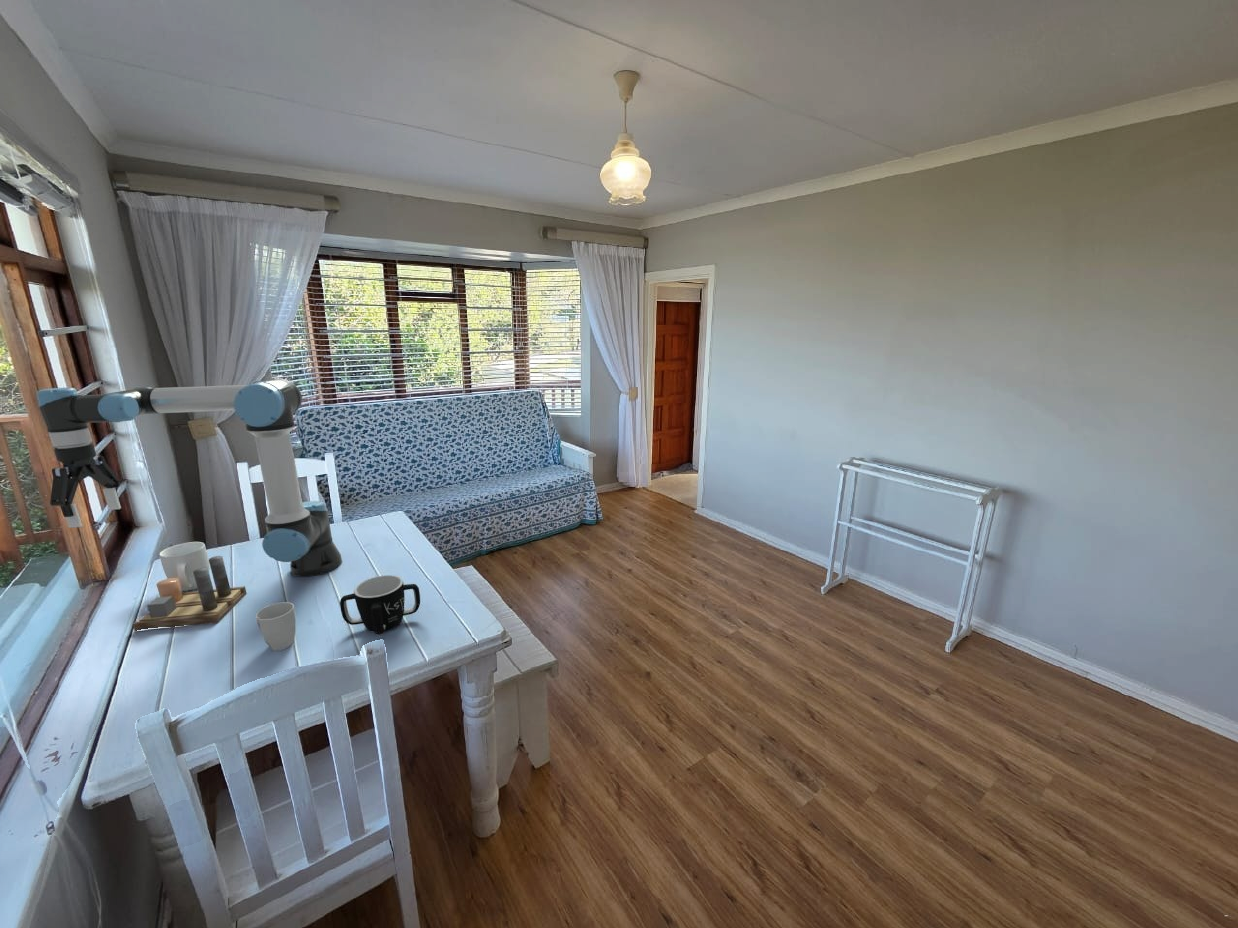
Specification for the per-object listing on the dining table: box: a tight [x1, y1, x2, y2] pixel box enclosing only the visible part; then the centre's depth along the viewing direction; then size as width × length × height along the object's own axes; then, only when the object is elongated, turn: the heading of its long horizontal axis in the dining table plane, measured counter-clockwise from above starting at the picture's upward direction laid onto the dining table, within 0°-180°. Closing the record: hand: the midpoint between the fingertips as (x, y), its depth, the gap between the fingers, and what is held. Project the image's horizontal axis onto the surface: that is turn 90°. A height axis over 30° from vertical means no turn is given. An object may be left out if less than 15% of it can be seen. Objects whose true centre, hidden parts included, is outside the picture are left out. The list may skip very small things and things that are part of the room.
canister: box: [156, 578, 183, 602], centre depth 146 cm, size 5×5×6 cm
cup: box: [255, 601, 297, 652], centre depth 128 cm, size 8×8×10 cm
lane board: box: [131, 585, 248, 632], centre depth 145 cm, size 20×16×2 cm
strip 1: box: [138, 567, 228, 622], centre depth 139 cm, size 19×5×13 cm, turn 102°
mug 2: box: [339, 574, 421, 635], centre depth 136 cm, size 16×16×12 cm
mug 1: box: [159, 541, 211, 592], centre depth 156 cm, size 15×11×13 cm
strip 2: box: [175, 555, 241, 605], centre depth 146 cm, size 19×5×13 cm, turn 102°
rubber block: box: [146, 596, 177, 618], centre depth 139 cm, size 4×4×4 cm
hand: (96, 517), depth 142 cm, fingers open, 13 cm apart
